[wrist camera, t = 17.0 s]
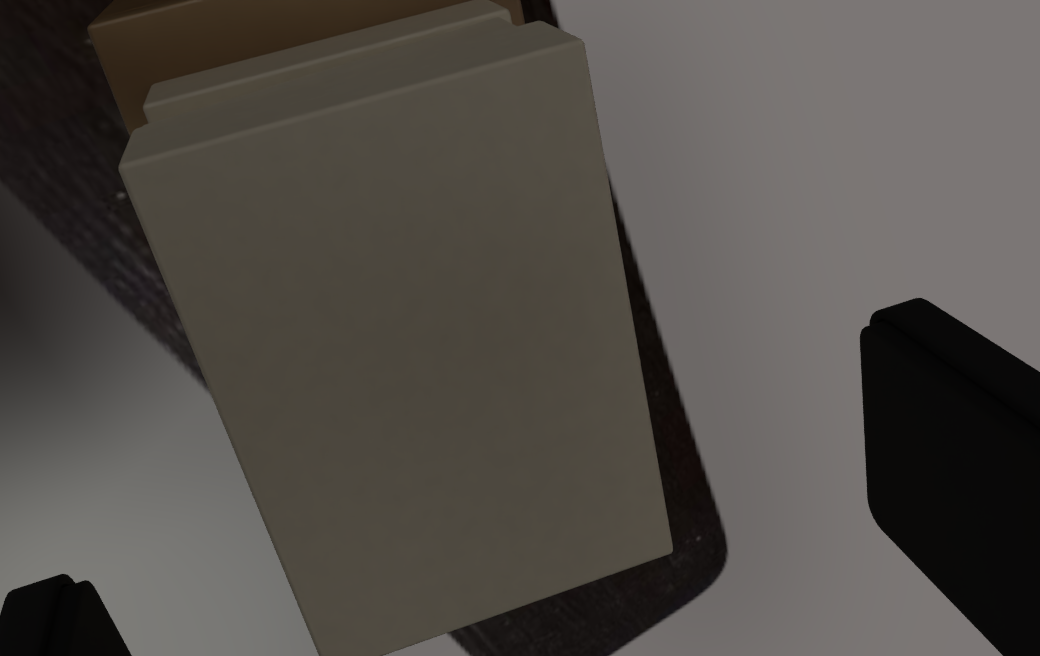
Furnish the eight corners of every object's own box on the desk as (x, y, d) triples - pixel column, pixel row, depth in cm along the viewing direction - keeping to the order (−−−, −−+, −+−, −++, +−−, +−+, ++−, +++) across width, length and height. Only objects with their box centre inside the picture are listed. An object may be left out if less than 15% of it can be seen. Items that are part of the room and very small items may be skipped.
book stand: (160, -49, 36) (84, 26, 18) (371, -100, 37) (505, -80, 19) (265, 247, 42) (291, 540, 23) (446, 195, 43) (608, 434, 24)
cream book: (130, 128, 15) (115, 166, 13) (541, 18, 16) (585, 37, 14) (317, 597, 19) (326, 677, 17) (632, 488, 20) (675, 554, 18)
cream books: (143, 85, 18) (122, 134, 15) (490, -6, 19) (547, 19, 16) (301, 497, 23) (314, 609, 19) (578, 406, 24) (638, 497, 20)
